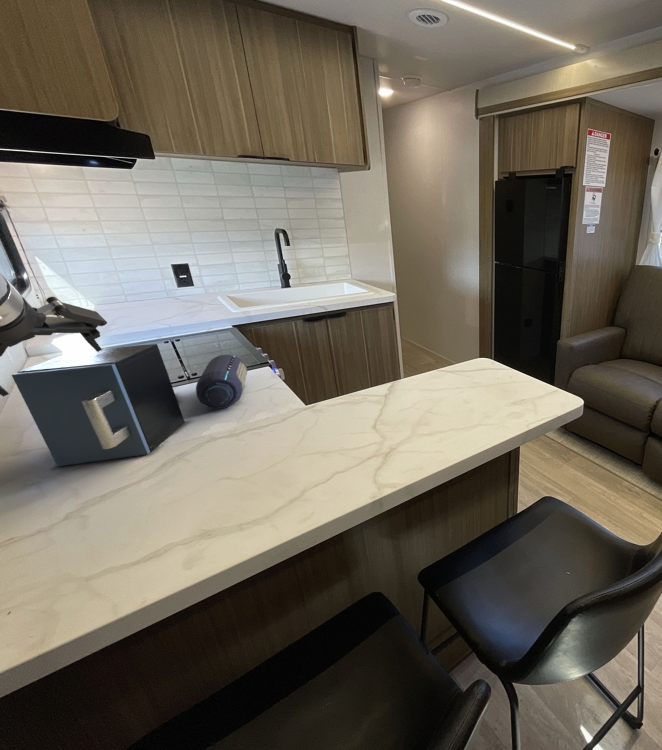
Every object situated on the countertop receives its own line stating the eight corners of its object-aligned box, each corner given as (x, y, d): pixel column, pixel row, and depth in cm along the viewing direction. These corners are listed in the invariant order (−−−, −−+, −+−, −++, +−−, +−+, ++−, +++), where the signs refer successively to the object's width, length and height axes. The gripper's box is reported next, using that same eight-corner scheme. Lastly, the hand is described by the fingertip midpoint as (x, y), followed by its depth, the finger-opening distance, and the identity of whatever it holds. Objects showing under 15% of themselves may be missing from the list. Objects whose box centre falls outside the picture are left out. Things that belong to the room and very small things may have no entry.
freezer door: (130, 469, 78) (90, 374, 71) (33, 482, 75) (-19, 385, 68) (150, 451, 84) (115, 363, 77) (61, 463, 81) (16, 373, 75)
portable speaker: (245, 408, 104) (235, 372, 101) (199, 417, 100) (187, 380, 97) (252, 379, 125) (243, 348, 122) (214, 386, 121) (204, 354, 118)
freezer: (151, 451, 85) (115, 362, 78) (62, 463, 82) (16, 371, 75) (185, 422, 97) (157, 343, 91) (109, 432, 95) (74, 351, 88)
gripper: (-132, 382, 47) (-28, 427, 64) (111, 286, 62) (142, 344, 79) (-184, 334, 46) (-66, 393, 63) (73, 249, 61) (113, 315, 78)
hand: (50, 366), depth 71 cm, fingers open, 13 cm apart
